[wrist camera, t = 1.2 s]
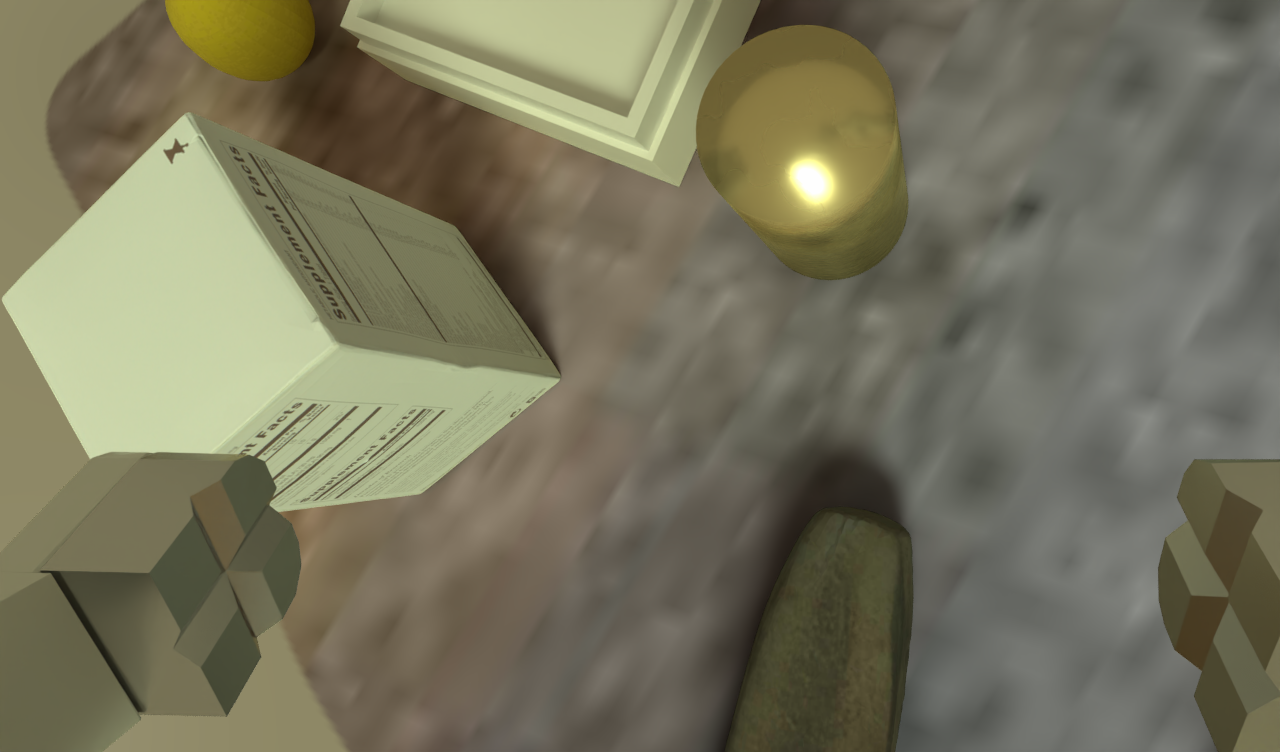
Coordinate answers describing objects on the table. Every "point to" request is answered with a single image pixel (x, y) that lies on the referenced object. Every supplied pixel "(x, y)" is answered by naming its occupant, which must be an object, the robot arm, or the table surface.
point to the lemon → (246, 34)
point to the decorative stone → (832, 642)
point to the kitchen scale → (567, 65)
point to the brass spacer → (807, 149)
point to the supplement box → (275, 323)
